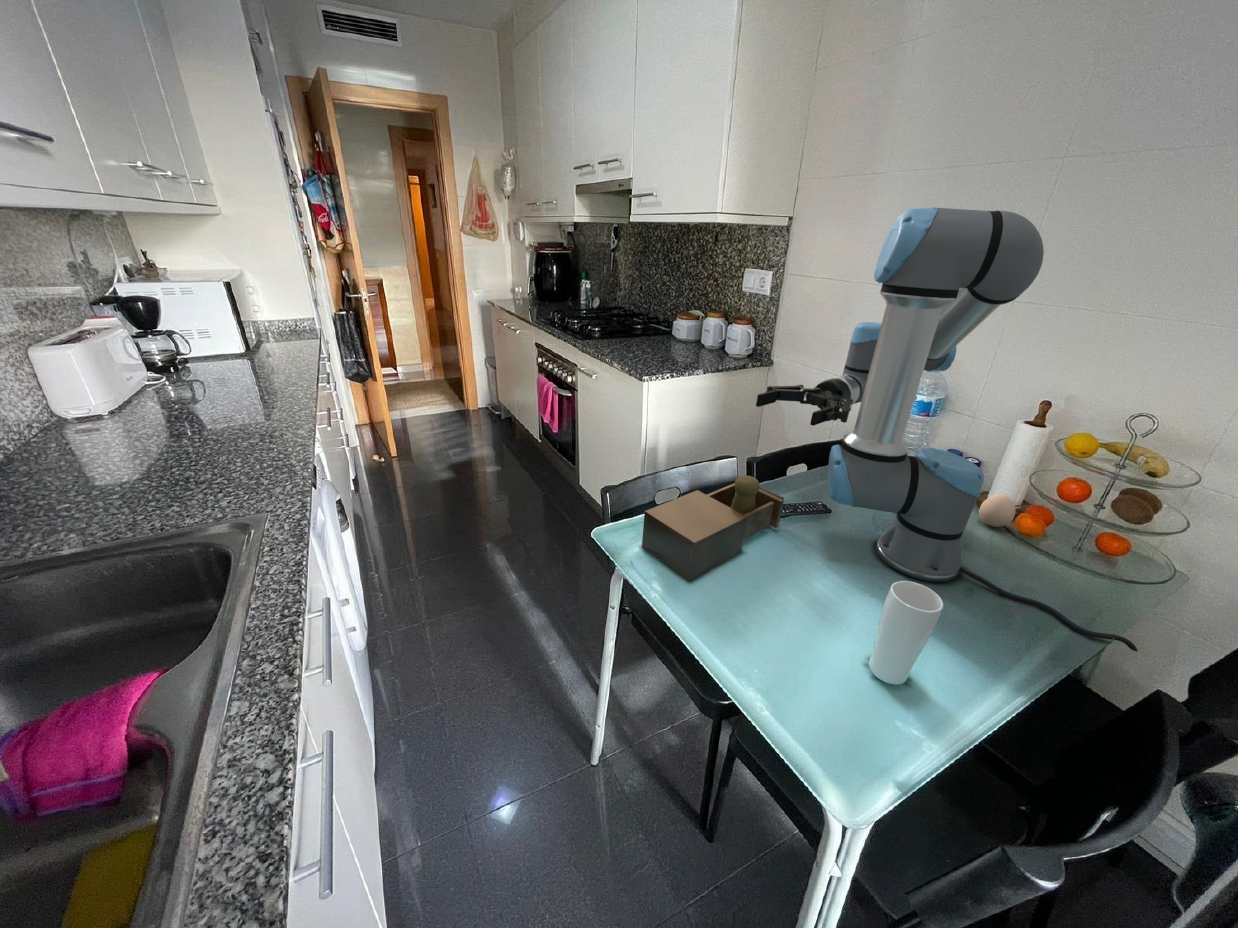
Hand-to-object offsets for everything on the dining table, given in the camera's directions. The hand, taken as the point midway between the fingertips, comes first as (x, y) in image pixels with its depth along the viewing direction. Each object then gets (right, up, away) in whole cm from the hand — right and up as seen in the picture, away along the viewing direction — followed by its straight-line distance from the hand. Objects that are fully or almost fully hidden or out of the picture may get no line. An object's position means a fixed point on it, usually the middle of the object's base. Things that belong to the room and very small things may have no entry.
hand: (784, 409), depth 107 cm
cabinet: (-20, -29, -3) cm, 36 cm away
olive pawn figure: (-9, -25, +3) cm, 26 cm away
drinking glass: (+6, -44, -30) cm, 53 cm away
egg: (+53, -26, +12) cm, 60 cm away
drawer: (-7, -25, +6) cm, 26 cm away
